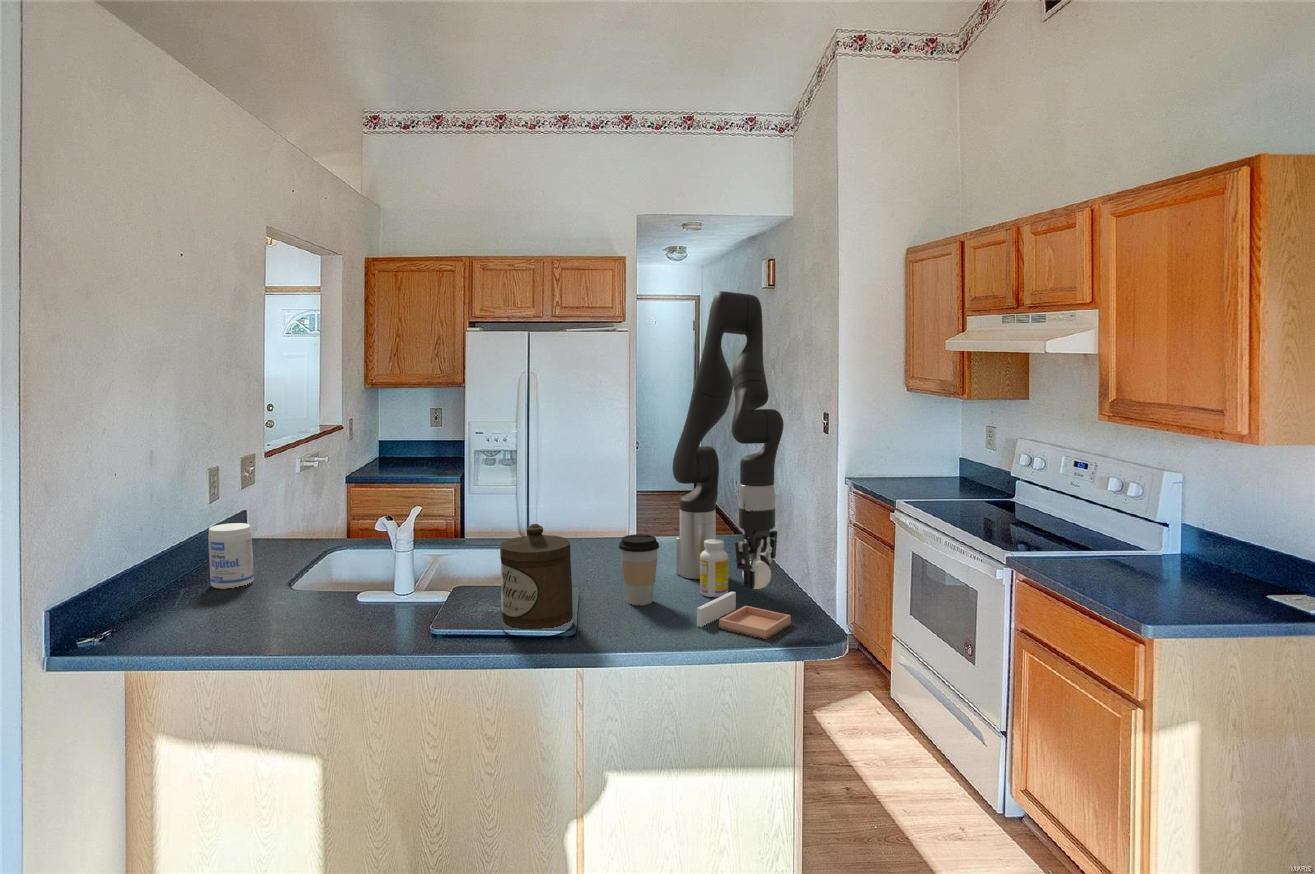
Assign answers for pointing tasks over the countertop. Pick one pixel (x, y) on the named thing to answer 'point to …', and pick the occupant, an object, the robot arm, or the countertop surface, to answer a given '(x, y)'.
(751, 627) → the dish
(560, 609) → the wooden container
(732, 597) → the wall
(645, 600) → the coffee cup
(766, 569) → the ball
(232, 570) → the supplement tub
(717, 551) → the supplement bottle
